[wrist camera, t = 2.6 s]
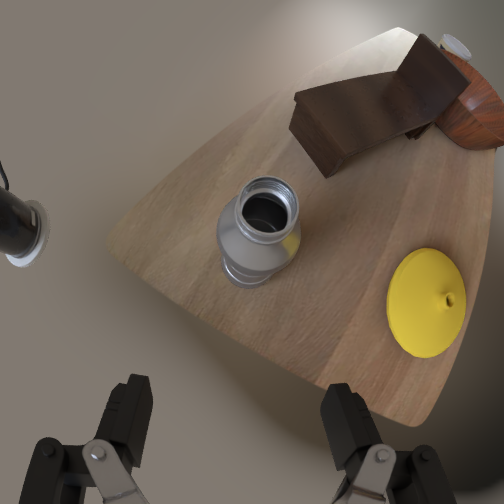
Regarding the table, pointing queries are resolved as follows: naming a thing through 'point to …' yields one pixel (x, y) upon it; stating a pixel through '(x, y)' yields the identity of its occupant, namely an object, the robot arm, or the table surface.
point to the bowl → (474, 112)
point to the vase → (426, 303)
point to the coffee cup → (454, 47)
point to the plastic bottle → (259, 231)
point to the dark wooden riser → (376, 106)
